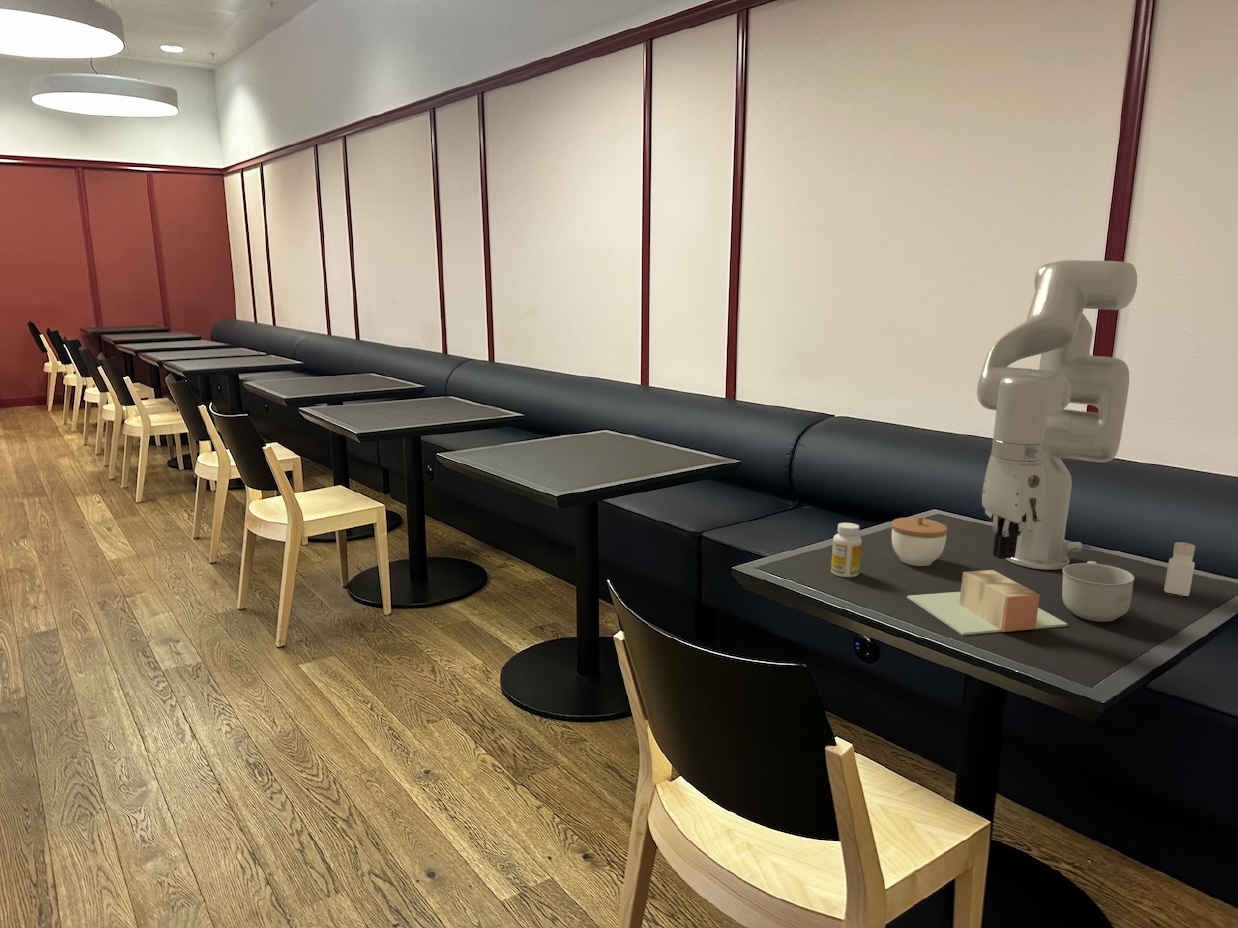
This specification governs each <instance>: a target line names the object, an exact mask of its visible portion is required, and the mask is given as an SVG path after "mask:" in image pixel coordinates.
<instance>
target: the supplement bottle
mask: <svg viewBox="0 0 1238 928" xmlns="http://www.w3.org/2000/svg"><path fill="white" fill-rule="evenodd" d="M859 534H860V525H859V524H856V523H852V522H839V523H838V524H837V533H836V534H835V535H834V536H833V539H832V550H831V551H832V552H831V562H830V565H831V566H830V572H831V574H833V575H834V576H837V577H840V578H854V577H858V576H859V574H860V570H861V569H860V567H861V559H862V558H861V557H862V555H861V554H862V546H863V545H862V544H863V541H862V538H861V537H860V536H859Z"/></svg>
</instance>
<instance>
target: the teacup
mask: <svg viewBox="0 0 1238 928" xmlns="http://www.w3.org/2000/svg"><path fill="white" fill-rule="evenodd" d="M1134 582H1135V575H1134V574H1132V573H1131V572H1129V571H1127V570H1125V569H1123V568H1120V567H1116V566H1111V565H1107V564H1100V563H1098V562H1096V561H1094V560H1090V561H1089V560H1088V561H1087V562H1083V563H1082V562H1080V563H1072V564H1069V565H1068V566H1065V567H1064V568H1063V569H1062V584H1061V585H1062V586H1061V587H1062V588H1061V589H1062V590H1061V592H1062V593H1061V594H1062V595H1061V596H1062V601H1063V604H1064V605H1065V607H1067V609H1068V610H1070V611H1071V612H1072V613H1073V614H1074V615H1075V616H1076V617H1079V618H1081V619H1083V620H1087V621H1092V622H1098V623H1099V622H1101V623H1104V622H1106V623H1108V622H1113V621H1115V620H1117V619H1118V618H1120V617H1123V616H1124V615H1125V614H1126V613H1127V612H1128V611H1129V609H1130V606H1131V602H1132V597H1133V589H1134Z"/></svg>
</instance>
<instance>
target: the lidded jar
mask: <svg viewBox="0 0 1238 928" xmlns="http://www.w3.org/2000/svg"><path fill="white" fill-rule="evenodd" d="M948 530H949V529H948V527H947V525H946V524H944V523H941V522H939V521H937V520H932V519H930V518H929V519H927V518H924V517H923V516H921V515H920V516H917V517H899V518H895V519H893V520H892V521H891V537H890V538H891V546H892V548H893V551H894V553H895V554H896V556H897V557H898V558H899V560H900V562H902V563H905V564H906V565H908V566H909V565H910V566H917V567H926V566H931V565H932V563H933V562H935V561H936V560H937V559H938V558H939V557H940V556H941V555H942V553H943V551H944V549H945V546H946V541H947V534H948Z"/></svg>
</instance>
